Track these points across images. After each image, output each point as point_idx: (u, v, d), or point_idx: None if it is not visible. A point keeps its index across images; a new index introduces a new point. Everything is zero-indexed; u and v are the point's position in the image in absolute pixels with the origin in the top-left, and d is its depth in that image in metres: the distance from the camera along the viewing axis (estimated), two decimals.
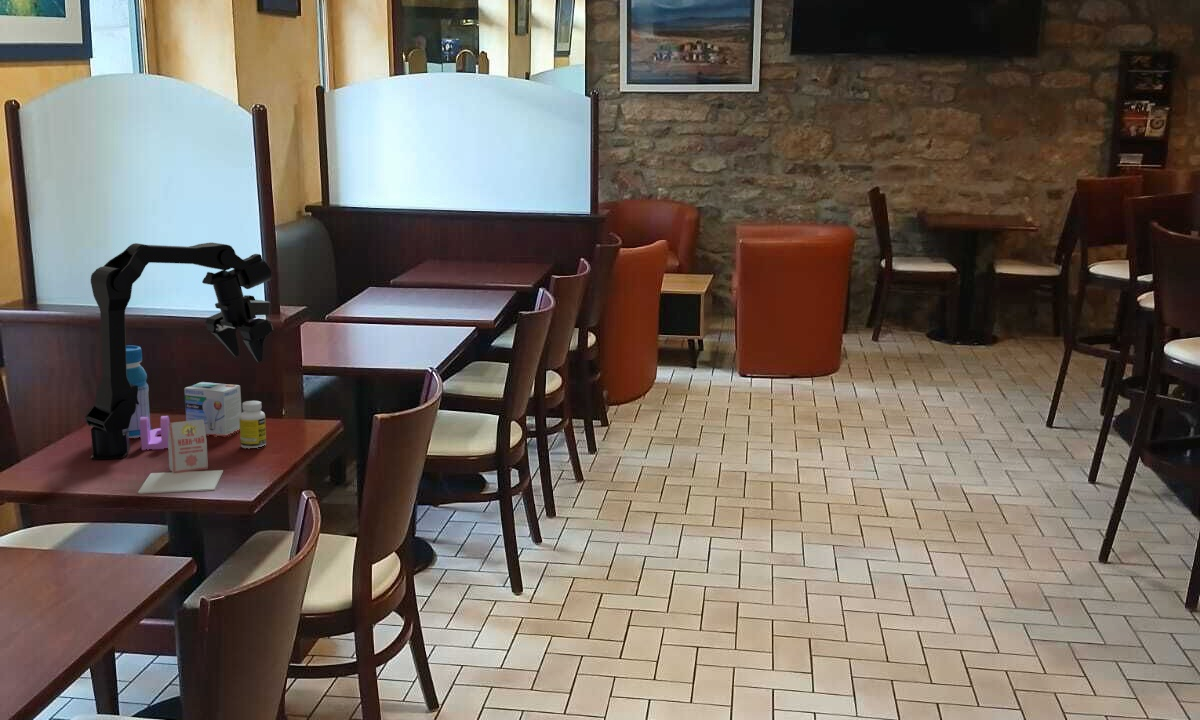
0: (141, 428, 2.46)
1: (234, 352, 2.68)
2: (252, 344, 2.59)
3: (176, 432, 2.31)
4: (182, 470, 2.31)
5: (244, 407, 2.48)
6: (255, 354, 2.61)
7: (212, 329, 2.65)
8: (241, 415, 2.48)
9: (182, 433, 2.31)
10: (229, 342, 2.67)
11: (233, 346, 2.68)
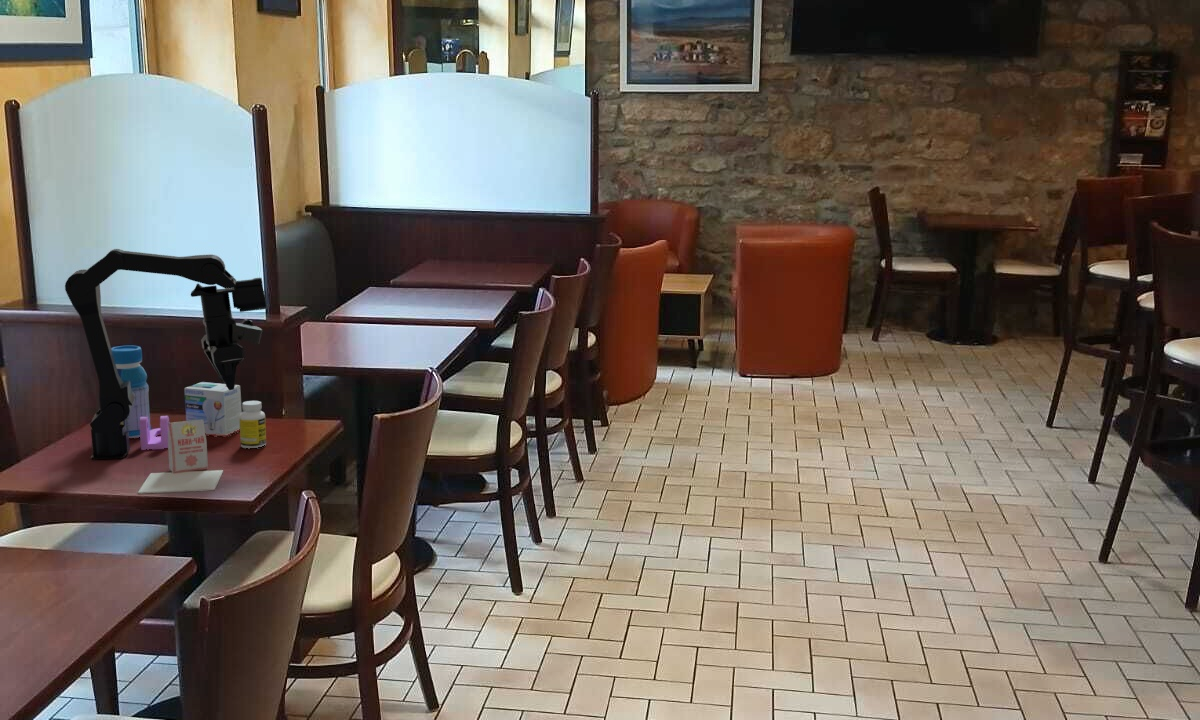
0: (141, 428, 2.46)
1: (221, 376, 2.51)
2: (221, 368, 2.40)
3: (176, 432, 2.31)
4: (182, 470, 2.31)
5: (244, 407, 2.48)
6: (224, 380, 2.41)
7: (203, 347, 2.50)
8: (241, 415, 2.48)
9: (182, 433, 2.31)
10: None
11: None
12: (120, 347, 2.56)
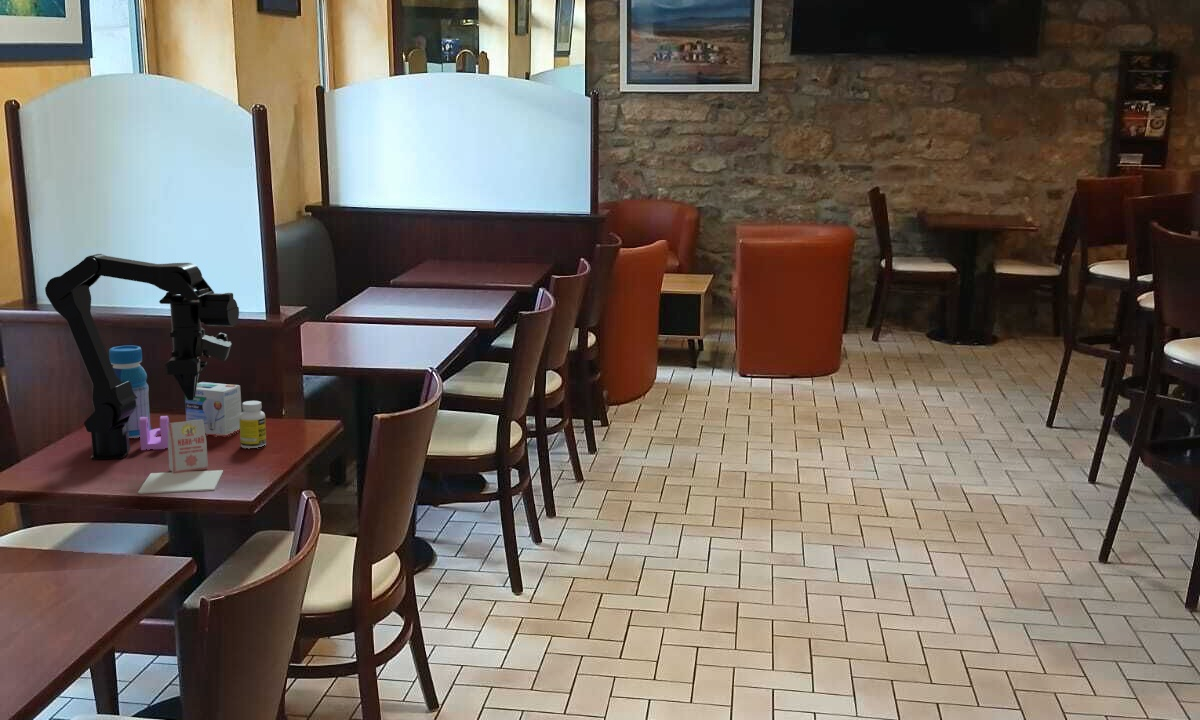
0: (140, 428, 2.46)
1: None
2: (179, 377, 2.35)
3: (176, 432, 2.31)
4: (182, 470, 2.31)
5: (244, 407, 2.48)
6: (183, 389, 2.36)
7: None
8: (241, 415, 2.48)
9: (182, 433, 2.31)
10: None
11: None
12: (120, 347, 2.56)
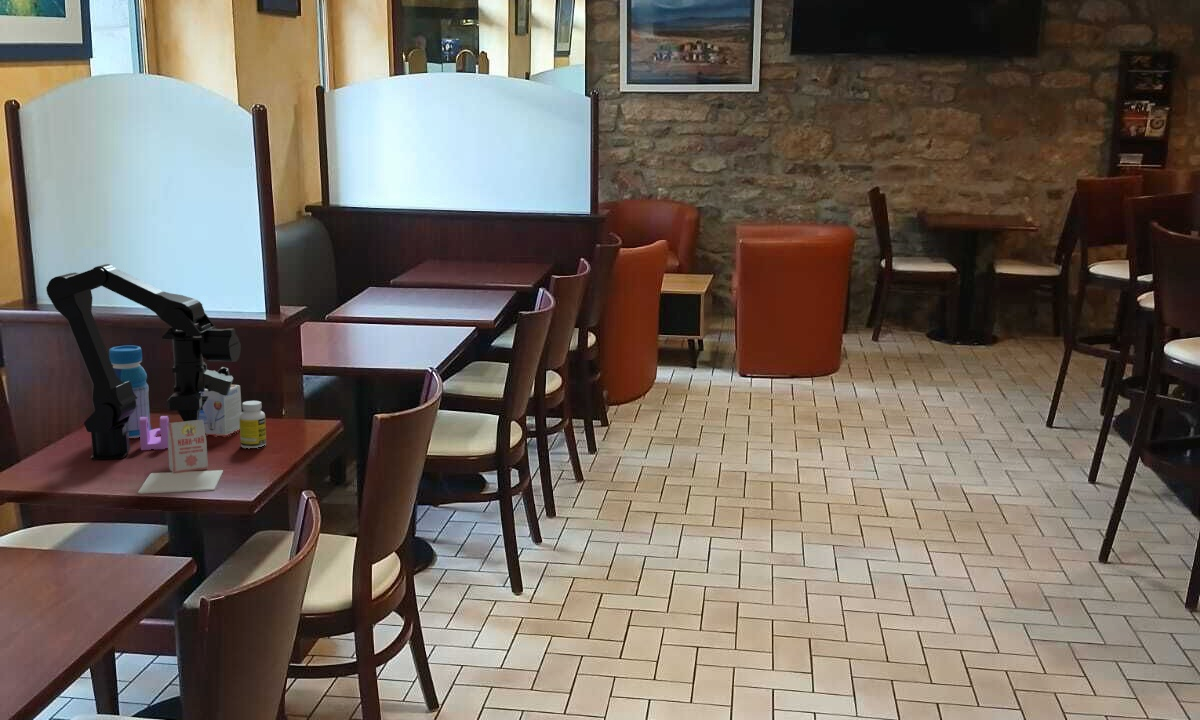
0: (140, 428, 2.46)
1: None
2: (181, 411, 2.37)
3: (176, 432, 2.31)
4: (182, 470, 2.31)
5: (244, 407, 2.48)
6: None
7: None
8: (241, 415, 2.48)
9: (182, 433, 2.31)
10: None
11: None
12: (120, 347, 2.56)
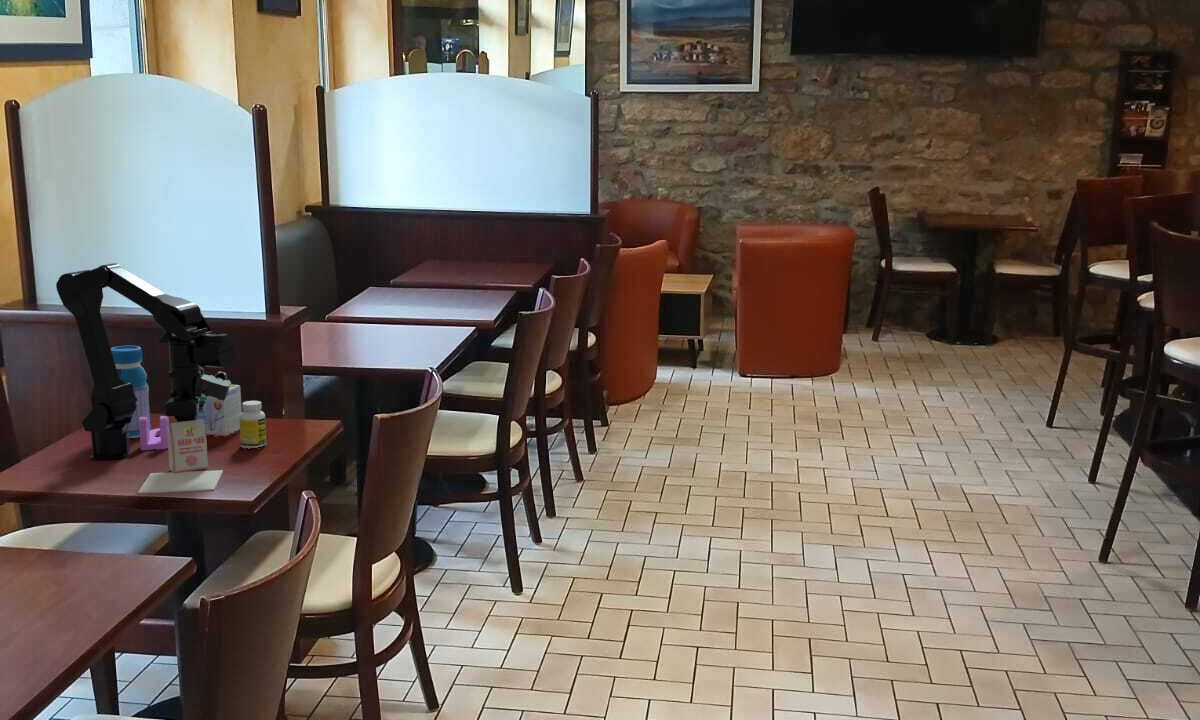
0: (140, 428, 2.46)
1: None
2: (178, 416, 2.33)
3: (176, 432, 2.30)
4: (182, 470, 2.31)
5: (244, 407, 2.48)
6: None
7: None
8: (241, 415, 2.48)
9: (182, 433, 2.31)
10: None
11: None
12: (120, 347, 2.56)
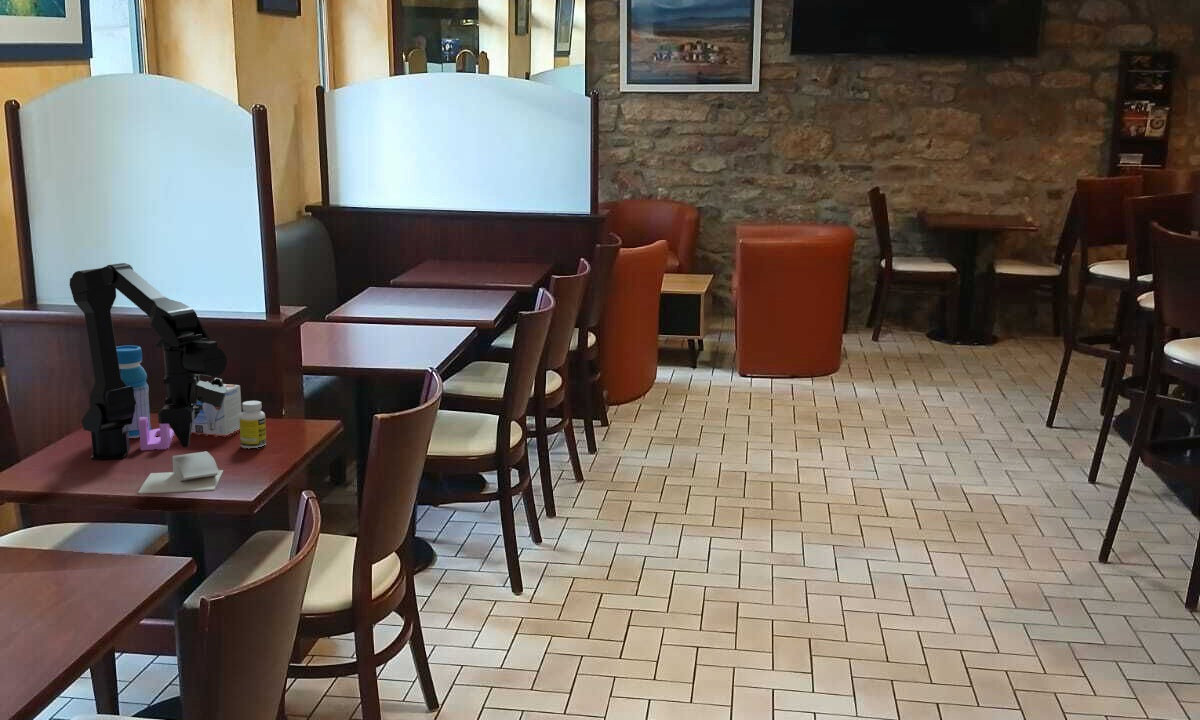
0: (140, 428, 2.46)
1: None
2: (173, 424, 2.27)
3: (188, 478, 2.24)
4: None
5: (244, 407, 2.48)
6: (178, 436, 2.29)
7: None
8: (241, 415, 2.48)
9: (194, 478, 2.25)
10: None
11: None
12: (120, 347, 2.56)
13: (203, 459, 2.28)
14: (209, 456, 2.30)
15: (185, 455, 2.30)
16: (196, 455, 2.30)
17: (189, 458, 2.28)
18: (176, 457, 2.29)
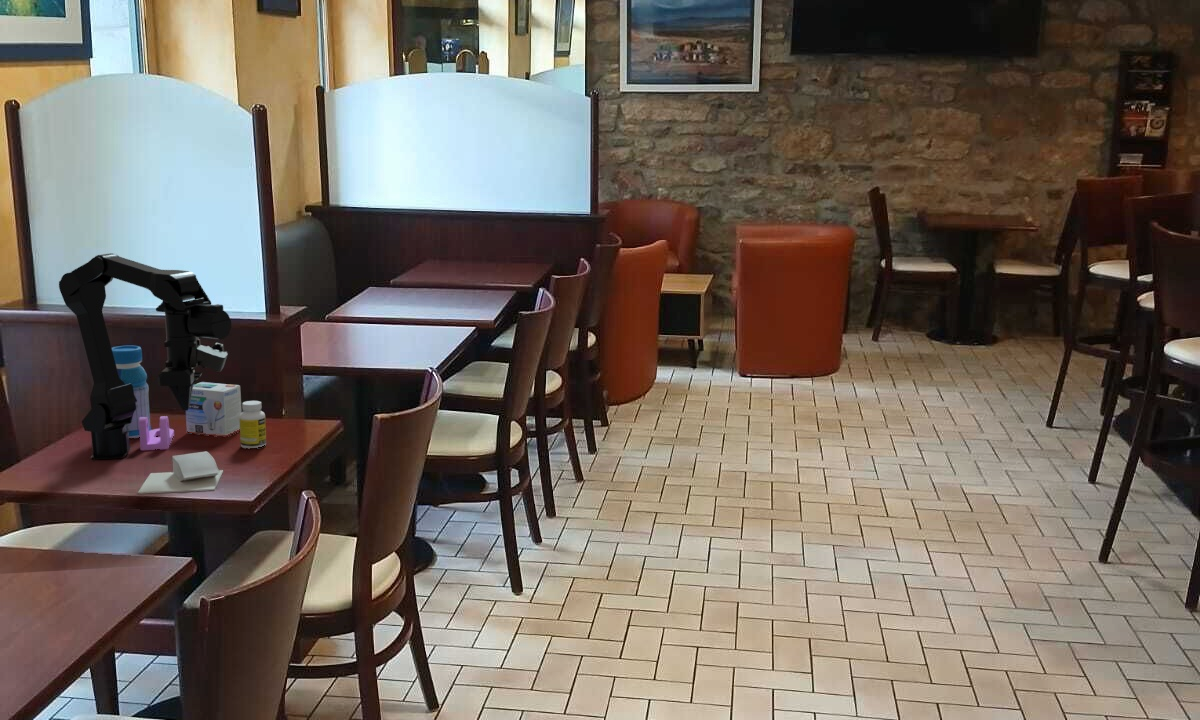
0: (140, 428, 2.46)
1: None
2: (173, 387, 2.30)
3: (188, 478, 2.24)
4: None
5: (244, 407, 2.48)
6: (178, 399, 2.31)
7: None
8: (241, 415, 2.48)
9: (194, 478, 2.25)
10: None
11: None
12: (120, 347, 2.56)
13: (203, 459, 2.28)
14: (209, 456, 2.30)
15: (185, 455, 2.30)
16: (196, 455, 2.30)
17: (189, 458, 2.28)
18: (176, 457, 2.29)
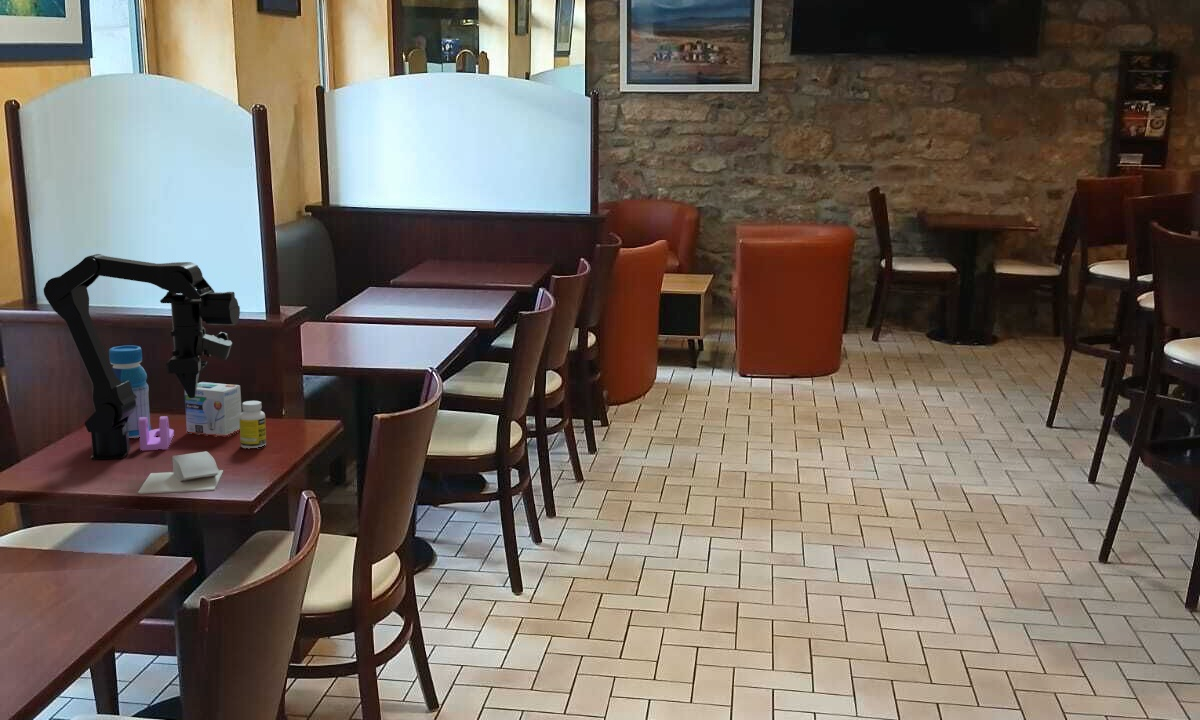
0: (140, 428, 2.46)
1: None
2: (180, 375, 2.36)
3: (188, 478, 2.24)
4: None
5: (244, 407, 2.48)
6: (184, 387, 2.38)
7: None
8: (241, 415, 2.48)
9: (194, 478, 2.25)
10: None
11: None
12: (120, 347, 2.56)
13: (203, 459, 2.28)
14: (209, 456, 2.30)
15: (185, 455, 2.30)
16: (196, 455, 2.30)
17: (189, 458, 2.28)
18: (176, 457, 2.29)
